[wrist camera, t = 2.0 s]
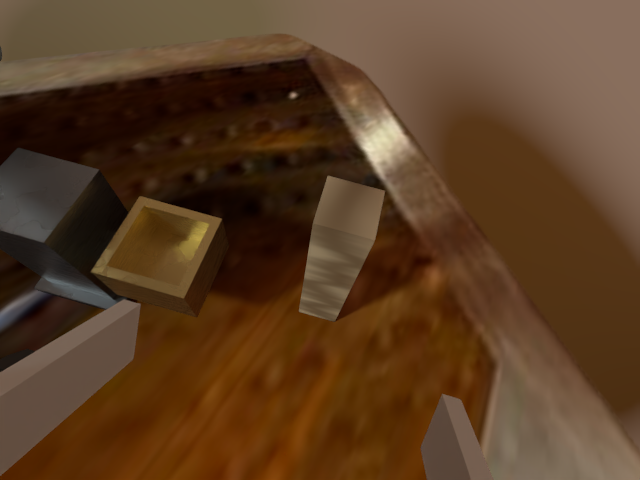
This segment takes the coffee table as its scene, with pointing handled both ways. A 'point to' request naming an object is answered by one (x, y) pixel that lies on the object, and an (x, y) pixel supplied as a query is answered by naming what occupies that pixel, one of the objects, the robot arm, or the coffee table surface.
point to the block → (339, 245)
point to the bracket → (104, 238)
